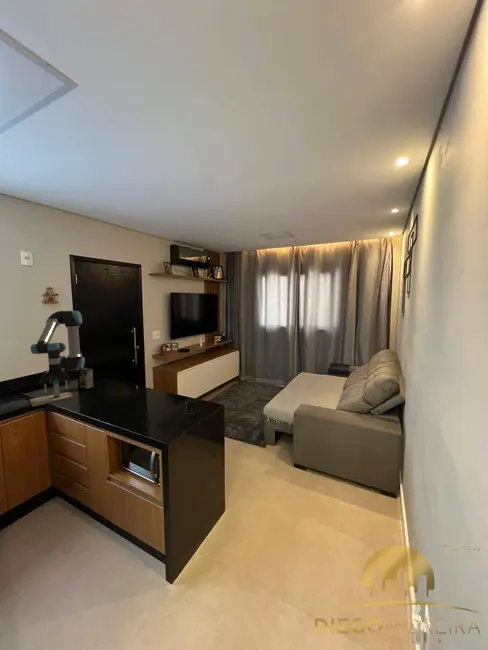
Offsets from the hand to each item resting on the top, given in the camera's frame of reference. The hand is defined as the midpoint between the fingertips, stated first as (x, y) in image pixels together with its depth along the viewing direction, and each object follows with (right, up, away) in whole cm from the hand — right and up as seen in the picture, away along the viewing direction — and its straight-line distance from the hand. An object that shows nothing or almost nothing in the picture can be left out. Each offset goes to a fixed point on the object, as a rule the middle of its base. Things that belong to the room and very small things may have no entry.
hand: (56, 390), depth 218 cm
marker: (0, -5, +1) cm, 5 cm away
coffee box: (+8, -4, +28) cm, 29 cm away
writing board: (-3, -6, -1) cm, 7 cm away
